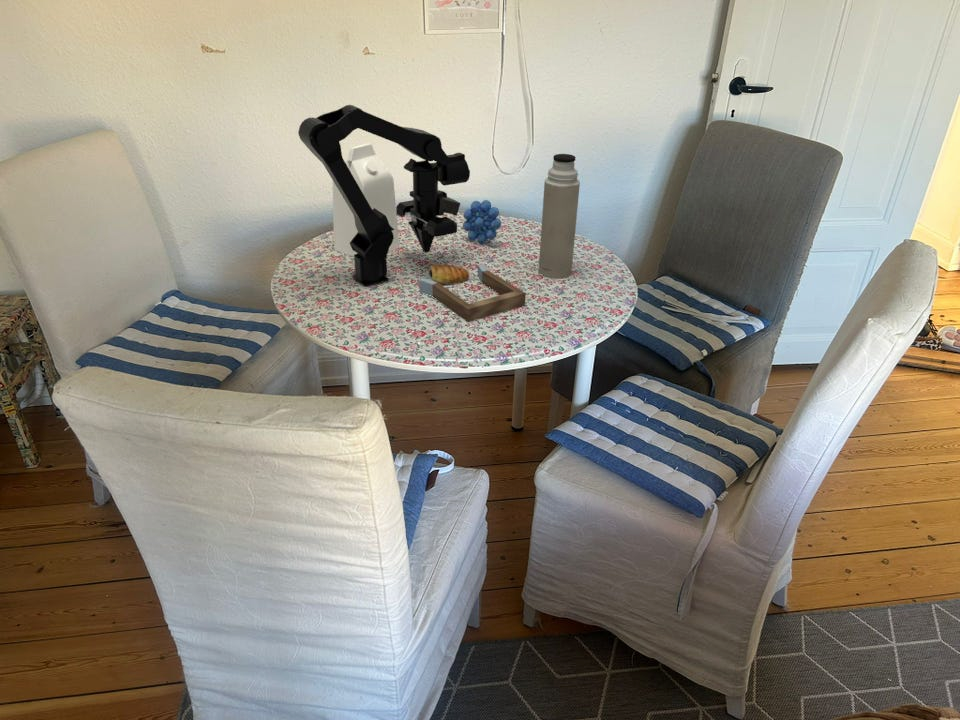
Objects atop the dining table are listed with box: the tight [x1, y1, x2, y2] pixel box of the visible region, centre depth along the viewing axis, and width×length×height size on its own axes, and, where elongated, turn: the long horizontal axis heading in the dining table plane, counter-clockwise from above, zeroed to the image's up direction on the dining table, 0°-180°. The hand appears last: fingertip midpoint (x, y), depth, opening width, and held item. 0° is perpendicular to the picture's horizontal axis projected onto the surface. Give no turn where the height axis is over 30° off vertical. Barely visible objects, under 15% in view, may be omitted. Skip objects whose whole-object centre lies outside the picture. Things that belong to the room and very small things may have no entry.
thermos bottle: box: [538, 153, 581, 279], centre depth 167 cm, size 8×8×28 cm
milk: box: [332, 142, 400, 258], centre depth 178 cm, size 12×12×26 cm
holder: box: [418, 263, 527, 323], centre depth 160 cm, size 18×18×3 cm
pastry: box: [428, 263, 470, 286], centre depth 168 cm, size 9×7×4 cm
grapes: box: [462, 199, 502, 245], centre depth 187 cm, size 12×7×12 cm, turn 56°
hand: (426, 251), depth 173 cm, fingers closed
